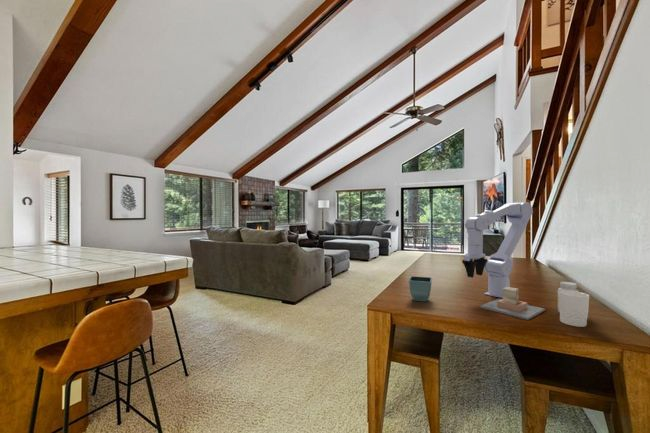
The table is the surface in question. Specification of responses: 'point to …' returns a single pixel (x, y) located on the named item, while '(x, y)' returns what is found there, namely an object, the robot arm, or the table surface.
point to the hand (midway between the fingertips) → (474, 276)
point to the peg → (510, 295)
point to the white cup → (573, 307)
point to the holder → (513, 309)
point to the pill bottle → (566, 286)
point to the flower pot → (420, 288)
